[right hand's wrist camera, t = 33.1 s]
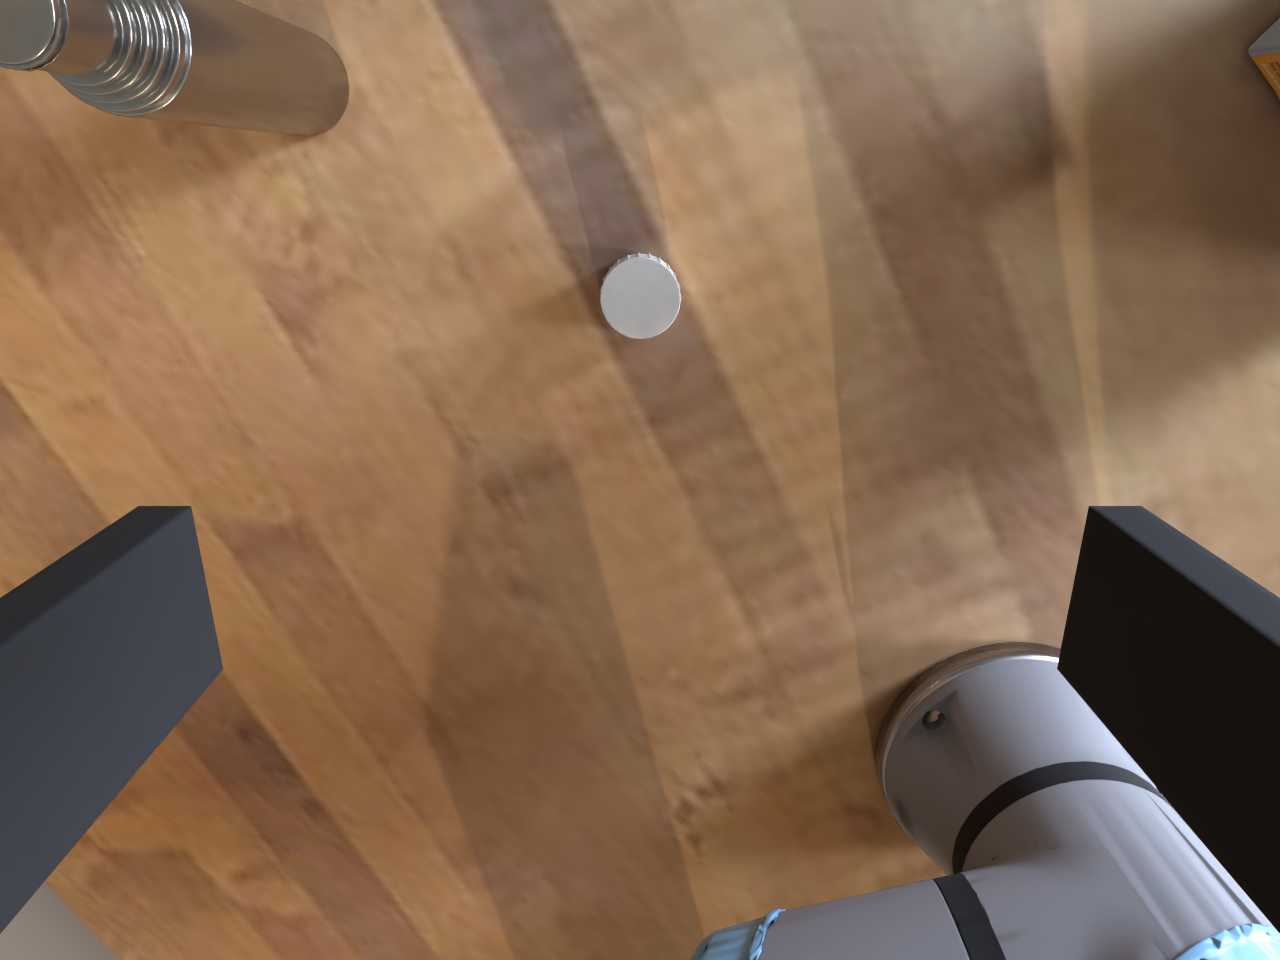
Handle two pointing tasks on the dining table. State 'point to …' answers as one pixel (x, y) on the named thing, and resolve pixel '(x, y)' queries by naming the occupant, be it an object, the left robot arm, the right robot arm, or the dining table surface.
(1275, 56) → the hard drive box
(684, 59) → the dining table surface
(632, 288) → the cap
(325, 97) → the bottle
